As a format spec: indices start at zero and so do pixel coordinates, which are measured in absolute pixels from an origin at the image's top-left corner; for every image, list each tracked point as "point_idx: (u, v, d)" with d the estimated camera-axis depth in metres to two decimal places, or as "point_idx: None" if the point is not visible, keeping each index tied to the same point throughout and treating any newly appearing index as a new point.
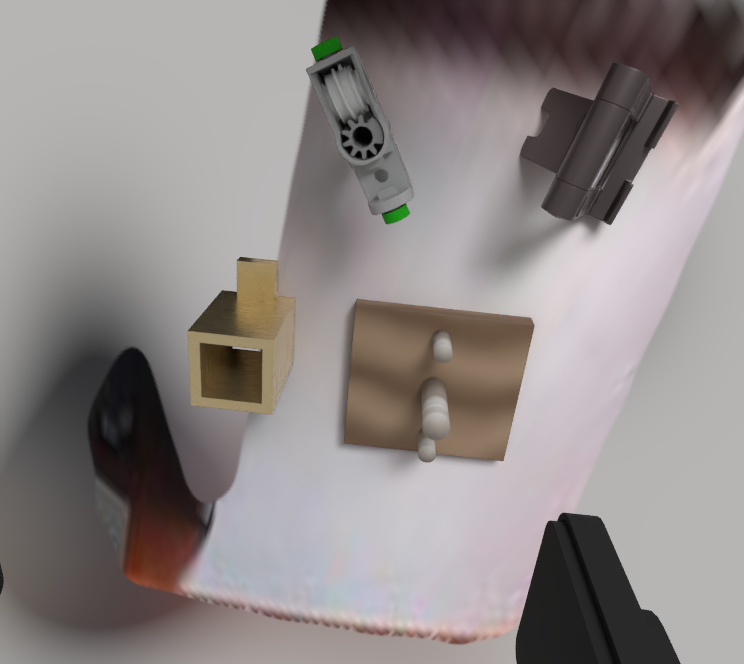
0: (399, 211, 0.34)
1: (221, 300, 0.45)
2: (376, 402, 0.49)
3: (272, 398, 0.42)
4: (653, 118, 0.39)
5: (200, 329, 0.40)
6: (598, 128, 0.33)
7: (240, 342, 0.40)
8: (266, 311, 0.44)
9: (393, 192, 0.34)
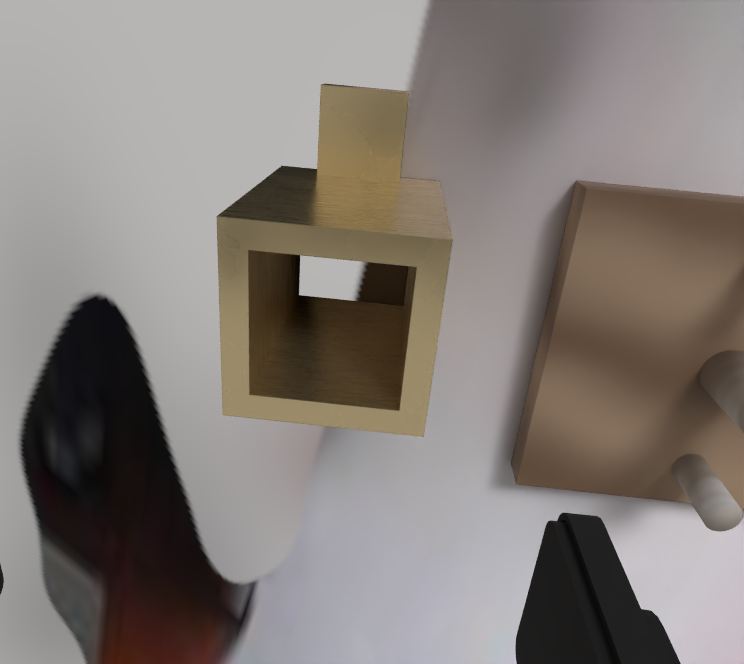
0: None
1: (286, 176, 0.20)
2: (597, 404, 0.24)
3: (427, 397, 0.17)
4: None
5: (250, 215, 0.15)
6: None
7: (358, 247, 0.15)
8: (394, 194, 0.19)
9: None
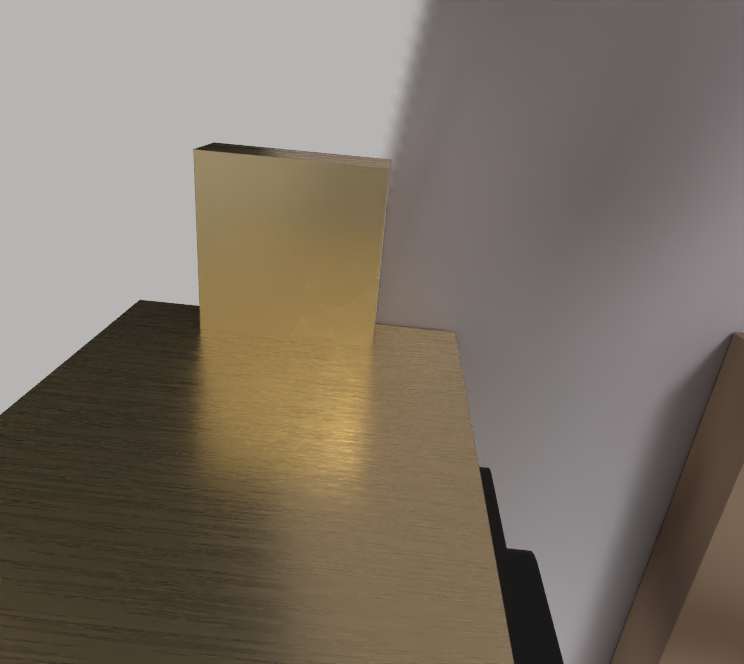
0: None
1: (120, 349, 0.09)
2: None
3: None
4: None
5: None
6: None
7: None
8: (354, 416, 0.08)
9: None
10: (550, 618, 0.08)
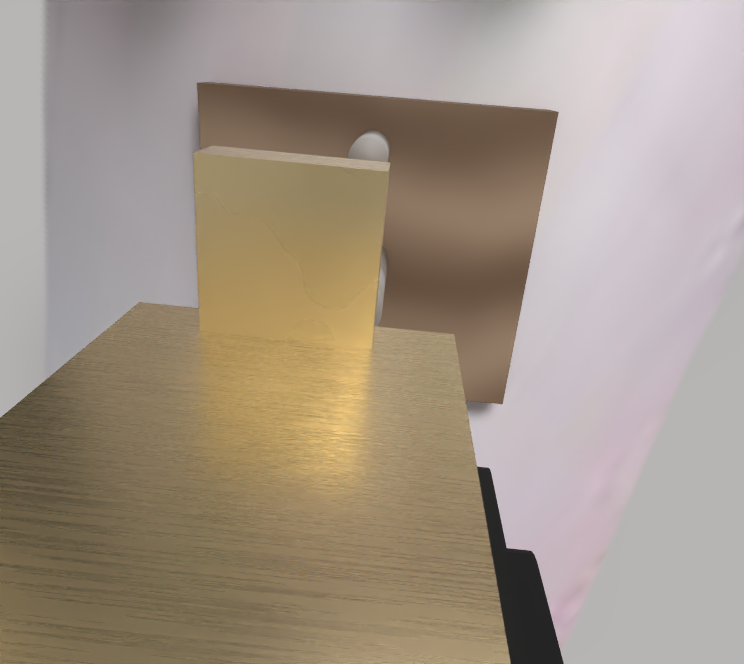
0: None
1: (120, 352, 0.09)
2: None
3: None
4: None
5: None
6: None
7: None
8: (353, 419, 0.08)
9: None
10: (550, 618, 0.08)
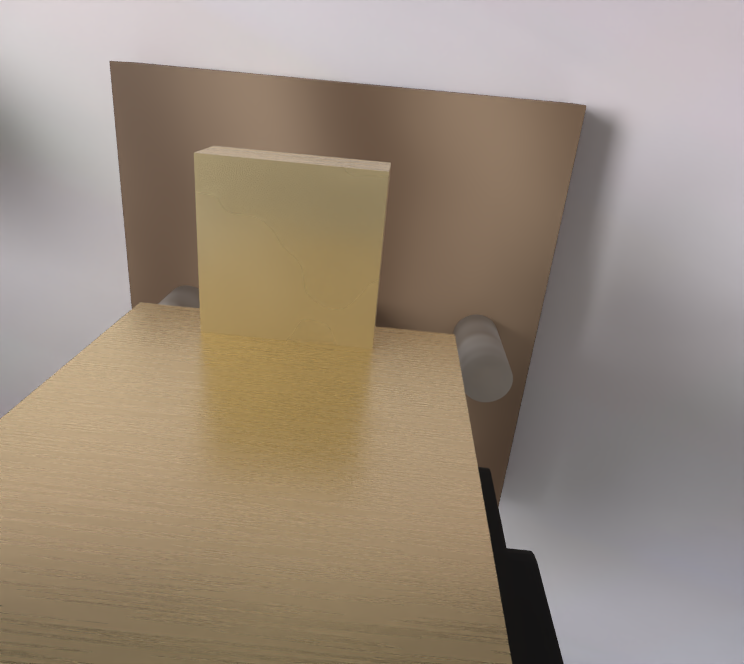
0: None
1: (121, 352, 0.09)
2: None
3: None
4: None
5: None
6: None
7: None
8: (354, 419, 0.08)
9: None
10: (550, 618, 0.08)
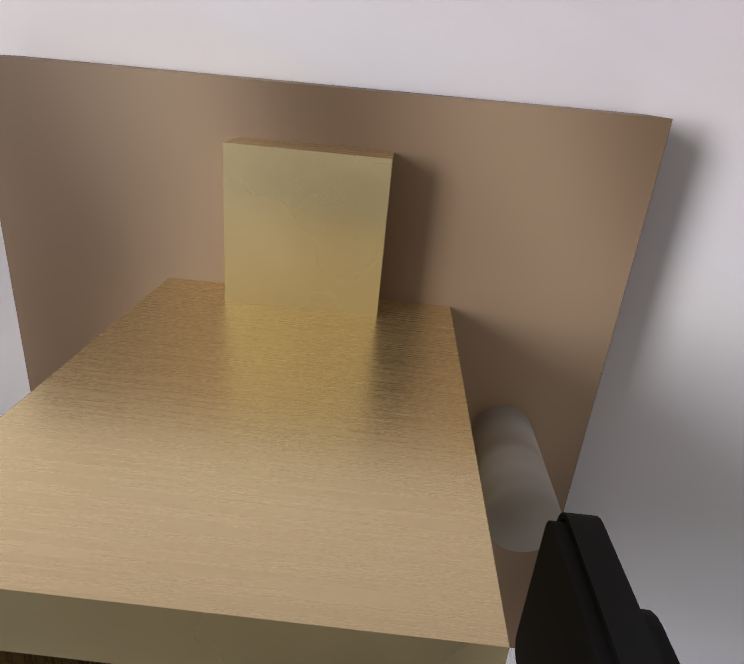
0: None
1: (158, 317, 0.10)
2: None
3: None
4: None
5: None
6: None
7: (237, 652, 0.05)
8: (362, 369, 0.09)
9: None
10: None
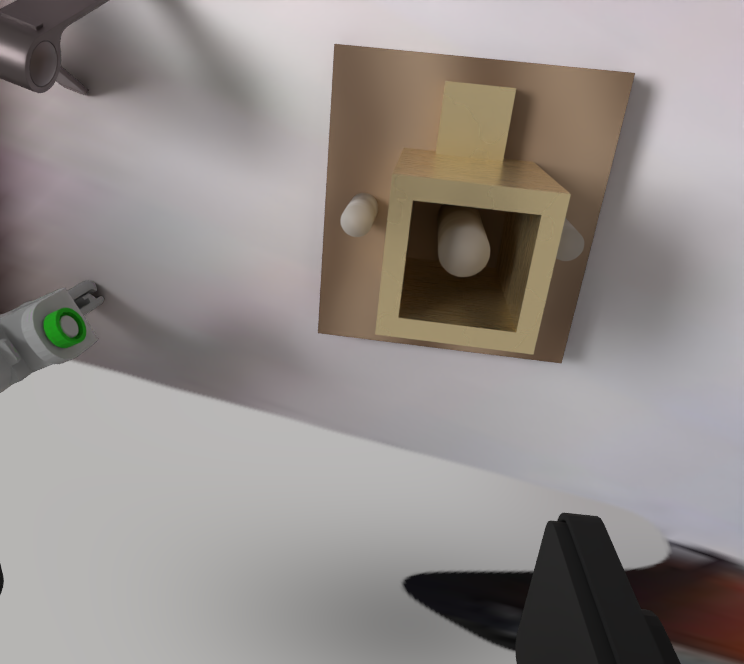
0: (47, 329, 0.23)
1: (414, 154, 0.25)
2: None
3: (539, 321, 0.21)
4: None
5: (414, 174, 0.20)
6: None
7: (498, 199, 0.20)
8: (506, 168, 0.24)
9: None
10: None
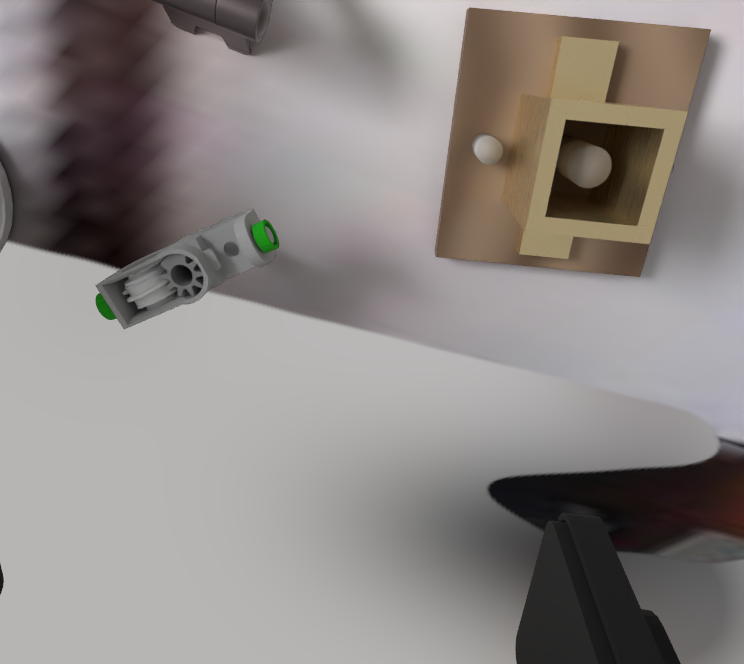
0: (256, 235, 0.29)
1: None
2: None
3: (655, 217, 0.27)
4: None
5: None
6: None
7: (632, 117, 0.26)
8: None
9: None
10: None
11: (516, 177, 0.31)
